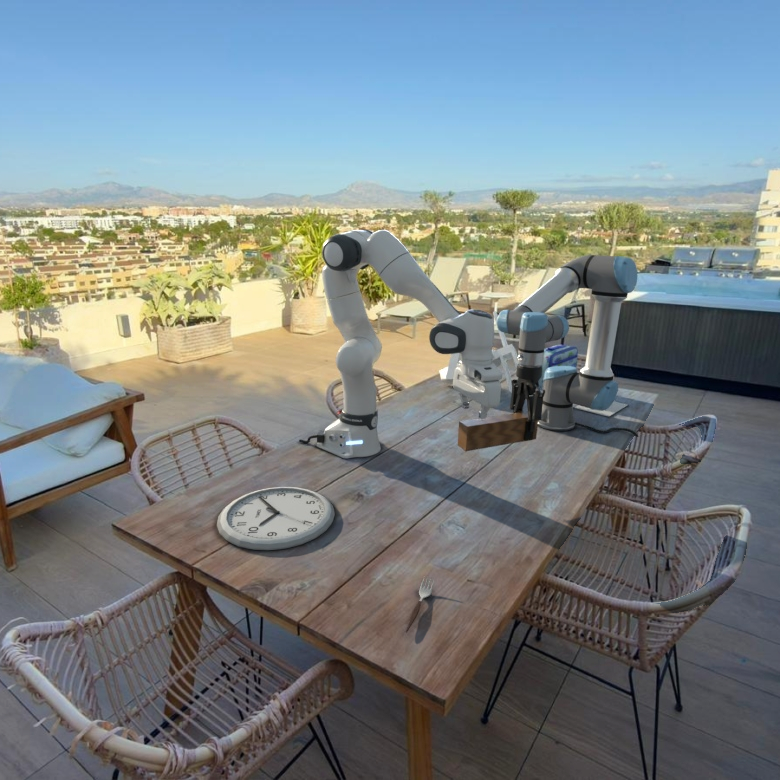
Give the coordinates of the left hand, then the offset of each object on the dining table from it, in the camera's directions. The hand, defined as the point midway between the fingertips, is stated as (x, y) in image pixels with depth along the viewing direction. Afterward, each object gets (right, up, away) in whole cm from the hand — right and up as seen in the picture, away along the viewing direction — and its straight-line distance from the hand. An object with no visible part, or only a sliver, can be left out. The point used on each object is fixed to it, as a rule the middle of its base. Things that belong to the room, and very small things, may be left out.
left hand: (473, 412), depth 154 cm
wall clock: (-54, -27, -17) cm, 63 cm away
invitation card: (+67, -1, +73) cm, 99 cm away
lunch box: (+54, +7, +96) cm, 110 cm away
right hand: (+17, -8, +10) cm, 21 cm away
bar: (+8, -9, +7) cm, 14 cm away
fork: (-19, -37, -49) cm, 64 cm away
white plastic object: (+17, +6, +90) cm, 91 cm away
